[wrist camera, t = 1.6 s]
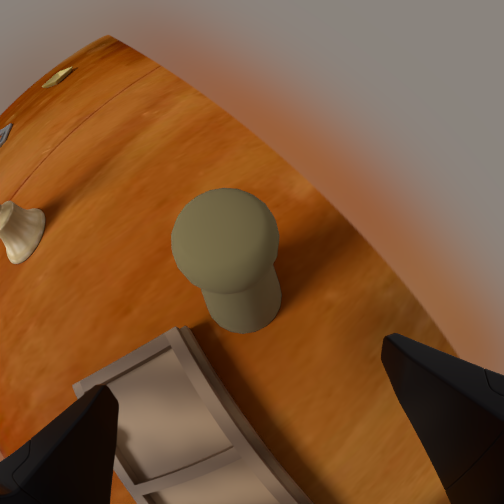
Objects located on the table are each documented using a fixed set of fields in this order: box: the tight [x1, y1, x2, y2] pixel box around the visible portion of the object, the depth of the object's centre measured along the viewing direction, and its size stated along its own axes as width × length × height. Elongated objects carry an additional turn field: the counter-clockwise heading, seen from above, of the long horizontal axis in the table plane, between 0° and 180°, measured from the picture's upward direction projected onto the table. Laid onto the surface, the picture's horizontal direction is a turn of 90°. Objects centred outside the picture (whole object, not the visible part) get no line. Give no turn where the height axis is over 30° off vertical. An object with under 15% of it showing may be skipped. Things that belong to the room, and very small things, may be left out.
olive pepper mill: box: [171, 188, 282, 334], centre depth 17 cm, size 6×6×11 cm
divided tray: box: [72, 326, 314, 504], centre depth 14 cm, size 20×12×3 cm, turn 33°
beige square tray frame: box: [42, 67, 73, 88], centre depth 53 cm, size 9×9×2 cm
